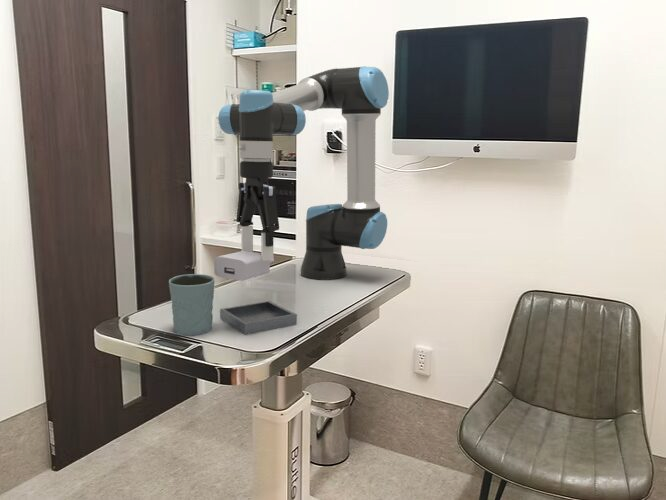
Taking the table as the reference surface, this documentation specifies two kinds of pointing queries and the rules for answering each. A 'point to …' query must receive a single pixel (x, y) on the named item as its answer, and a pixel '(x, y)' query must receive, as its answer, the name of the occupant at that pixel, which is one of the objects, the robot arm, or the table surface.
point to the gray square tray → (258, 317)
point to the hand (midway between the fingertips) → (257, 256)
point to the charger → (241, 265)
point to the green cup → (192, 303)
